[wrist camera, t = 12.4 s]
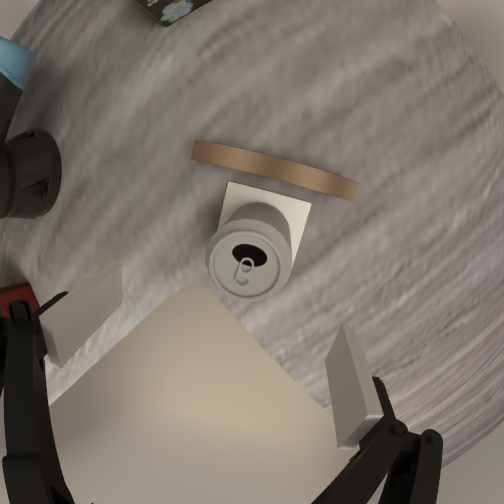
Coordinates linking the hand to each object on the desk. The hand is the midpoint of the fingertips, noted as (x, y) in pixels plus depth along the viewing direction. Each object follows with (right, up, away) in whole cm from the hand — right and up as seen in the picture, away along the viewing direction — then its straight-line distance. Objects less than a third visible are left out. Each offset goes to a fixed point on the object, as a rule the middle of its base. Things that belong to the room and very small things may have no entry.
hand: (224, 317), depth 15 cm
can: (+2, +6, +19) cm, 20 cm away
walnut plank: (+4, +14, +16) cm, 22 cm away
